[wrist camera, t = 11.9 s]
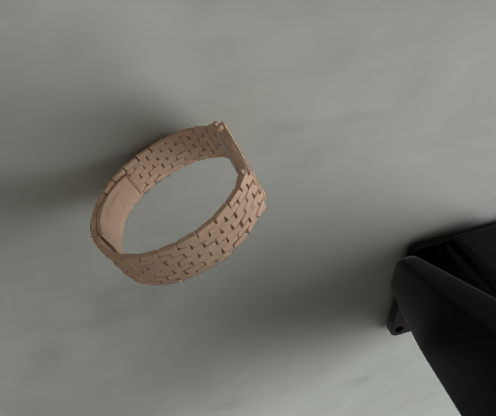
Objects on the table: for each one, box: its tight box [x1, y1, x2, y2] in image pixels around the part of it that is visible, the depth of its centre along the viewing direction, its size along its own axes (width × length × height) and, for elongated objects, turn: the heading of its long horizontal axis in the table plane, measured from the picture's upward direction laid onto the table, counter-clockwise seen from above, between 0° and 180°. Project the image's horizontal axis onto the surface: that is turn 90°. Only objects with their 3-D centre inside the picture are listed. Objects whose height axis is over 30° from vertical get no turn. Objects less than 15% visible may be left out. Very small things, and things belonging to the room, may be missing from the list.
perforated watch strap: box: [90, 121, 267, 285], centre depth 13 cm, size 3×5×5 cm, turn 114°
